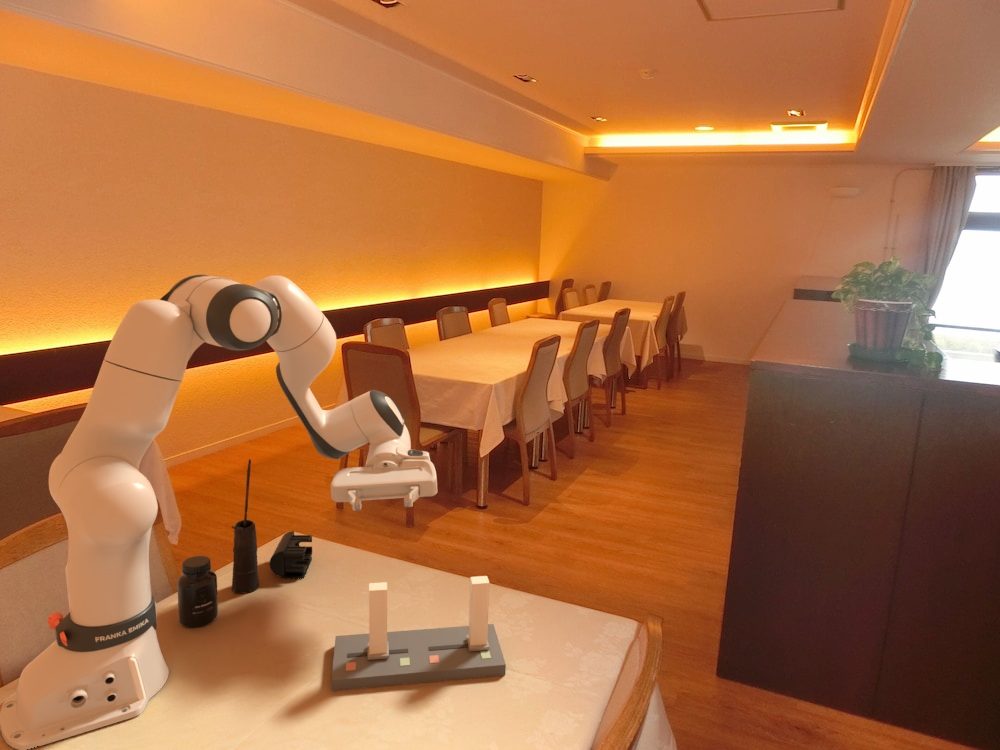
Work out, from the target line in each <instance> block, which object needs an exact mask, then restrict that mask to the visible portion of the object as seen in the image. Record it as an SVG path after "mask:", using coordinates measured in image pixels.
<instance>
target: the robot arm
mask: <svg viewBox="0 0 1000 750" xmlns="http://www.w3.org/2000/svg"><path fill="white" fill-rule="evenodd" d="M265 342H267V344H268V345H269V346H270V347H271V348H272V349H273V351H274V352H275V353H276V356H277V358H278V360H279V361H278V362H277V365H276V367H275V373H276V377H277V378H276V379H277V381H278V384H279V386H280V388H281V390H282V392H283V393H284V395H285V397H286V399H287V400H288V403H289V404H290V405H291V408H292V409H293V410H294V412H295V414H296V415H297V416H298V419H299V420H300V421H301V423H302V425H303V426H304V428H305V430H306V431H307V433H308V436H309V437H310V438H309V439H310V440H311V442H312V444H313V446H314V448H315V449H316V451H317V453H318V454H319V455H321V456H323V457H325V458H329V459H332V460H340V459H341V458H343V457H345V456H346V455H348V454H350V453H352V452H353V451H354V450H356V449H358V448H360V447H362V446H364V445H366V444H368V443H369V446H368V454H367V456H366V461H365V466H356V467H354V466H353V467H345V468H341V469H339V470H338V471H337V472H335V473H334V474H333V479H332V481H331V483H330V494H331V500H333V502H335V503H346V502H348V503H349V504H350V505H351V508H352V511H355V512H356V511H361V510H362V501H363V502H364V501H373V500H374V501H376V500H390V499H393V500H394V499H403V504H404V508H411V507H413V505H414V504H413V503H414V502H416V501H417V500H418V499H419V498H424V497H434V496H436V494H437V493H438V478H437V471H436V468H435V464H434V463H433V462H432V461H431V457H430V452H428V451H425V450H417V449H412V443H411V441H412V440H411V435H410V432H409V430H408V427H407V426H406V424H405V419H404V416H403V413H402V411H401V409H400V407H399V406H398V403H396V401H395V400H394V399H393V398H392V397H391V396H390V395H389V394H386V393H384V392H382V391H381V390H377V389H370V390H369V391H367V392H365V393H362V394H361V395H358V396H355V398H353V399H351V400H348V401H347V402H345V403H343V404H341V405H339V406H336V407H334V408H332V409H328V410H327V409H326V410H325V409H322V408H321V406H320V404H319V402H318V400H317V398H316V397H315V395H314V393H313V392H312V390H311V388H310V387H311V385H312V383H313V382H314V381H315V380H316V379H317V378H318V377H319V375H320V374H322V372H323V371H324V370H326V368H327V367H329V364H330V363H331V361H332V359H333V357H334V355H335V352H336V349H337V343H338V341H337V333H336V331H335V329H334V327H333V326H332V324H331V323H330V321H329V319H328V318H327V317H326V316H325V314H324V313H323V312H322V310H321V309H320V308H319V306H318V305H317V304H316V303H315V302H314V301H313V300H312V298H310V296H308V295H307V293H306V292H304V290H302V289H301V288H300V287H299V286H298V285H297V284H296V283H294V281H292V280H291V279H290V278H288V277H285V276H283V275H269V276H266V277H264V278H262V279H259V280H258V281H257V282H256V283H254V284H253V285H249V284H245V283H240V282H238V281H235V280H233V279H231V278H227V277H224V276H223V277H222V276H215V275H214V276H213V275H208V274H194V275H189V276H187V277H184V278H182V279H181V280H179V281H177V282H176V283H175V284H174V285H173V286H172V287H171V288H170V289H169V291H168V292H166V293H165V294H164V295H163V296H162V297H161V298H159V299H156V298H155V299H142V300H140V301H137V302H135V303H134V304H133V305H131V306H130V307H129V309H128V311H127V312H126V314H125V315H124V317H123V318H122V320H121V322H120V324H119V325H118V327H117V329H116V330H115V332H114V335H113V337H112V339H111V341H110V343H109V346H108V348H107V349H106V352H105V356H104V358H103V361H102V364H101V365H100V366H101V367H100V369H99V372H98V375H97V378H96V380H95V383H94V385H93V389H92V391H91V394H90V397H89V398H88V402H87V404H86V407H85V409H84V411H83V413H82V415H81V417H80V418H79V420H78V423H77V424H76V426H75V428H74V430H73V431H72V433H70V436H69V438H68V439H67V442H66V443H65V445H64V447H63V448H62V451H60V453H59V454H58V455H57V456H56V457H55V458H54V460H53V461H52V462H51V465H50V468H49V471H48V490H49V493H50V495H51V497H52V499H53V501H54V502H55V503H56V505H57V506H58V508H59V510H60V511H61V513H62V515H63V518H64V520H65V522H66V527H67V532H68V534H67V535H68V553H67V562H66V563H67V564H66V565H65V569H64V571H65V572H64V573H65V581H66V589H67V597H68V600H67V601H68V606H69V607H68V608H69V612H68V613H67V614H66V615H65V616H64V615H63V613H61V612H59V611H58V612H54V613H52V614H50V615H49V617H48V618H47V623H48V625H49V628H50V629H51V630H53V631H54V630H55V631H54V632H55V633H54V634H55V640H54V641H53V642H52V643H51V644H50V645H49V646H48V647H46V648H45V649H44V650H43V651H42V652H41V653H40V654H38V655H37V656H36V657H35V658H34V659H32V660H31V661H30V662H29V663H28V664H27V665H26V666H25V667H24V668H23V670H22V671H21V672H20V673H21V674H20V676H19V679H18V681H17V682H18V683H17V686H16V691H15V692H13V693H12V694H10V695H9V696H8V697H7V698H6V700H5V701H4V702H3V704H2V706H1V708H0V733H1V737H2V738H3V740H4V741H5V743H6V744H7V745H8V746H10V747H11V748H13V749H16V750H27V749H28V750H32V749H35V748H38V747H37V746H39V747H41V746H44V745H48V744H51V743H54V742H57V741H61V740H63V739H64V740H65V739H67V738H71V737H74V736H77V735H80V734H84V733H87V732H89V731H93V730H96V729H99V728H103V727H106V726H109V725H113V724H116V723H118V722H119V723H120V722H122V721H126V720H129V719H132V718H135V717H137V716H139V715H140V714H141V713H142V712H143V711H144V709H145V707H146V706H147V704H148V702H149V701H150V699H152V698H153V697H154V696H155V695H157V693H158V692H159V691H160V690H161V689H162V687H164V685H165V684H166V682H167V680H168V679H169V678H168V677H169V675H170V670H169V667H168V665H167V663H166V661H165V658H164V656H163V653H162V651H161V648H160V647H161V646H160V644H159V640H158V635H157V628H158V625H157V623H158V612H157V602H156V600H155V596H153V594H152V589H151V588H152V586H151V577H150V576H151V575H150V574H151V573H150V562H149V561H150V560H149V552H150V550H149V549H150V542H151V535H152V528H153V525H154V523H155V521H156V519H157V515H158V510H159V506H158V505H159V504H158V501H157V496H156V493H155V490H154V488H153V486H152V484H151V482H150V481H149V479H148V478H147V476H145V475H144V474H143V473H142V472H140V470H139V469H140V464H141V461H142V458H143V457H144V455H145V453H146V452H147V450H148V449H149V447H150V446H151V444H152V442H153V441H154V439H155V438H156V437H157V436H158V435H159V434H161V433H162V432H163V431H164V430H165V429H166V427H167V424H168V422H169V419H170V416H171V414H172V411H173V408H174V405H175V402H176V399H177V396H178V393H179V390H180V389H181V385H182V383H183V382H182V381H183V379H184V376H185V373H186V369H187V366H188V362H189V361H190V359H191V357H192V356H193V354H194V352H195V351H196V350H197V349H198V348H200V346H201V345H203V344H204V343H206V344H209V345H211V346H216V347H221V348H225V349H227V350H231V351H248V350H252V349H255V348H257V347H259V346H261V345H263V344H265ZM34 747H35V748H34ZM31 748H32V749H31Z"/></svg>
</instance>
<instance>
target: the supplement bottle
mask: <svg viewBox="0 0 1000 750" xmlns="http://www.w3.org/2000/svg"><path fill="white" fill-rule="evenodd" d="M181 565H182V566H181V567H182V569H181V575H180V576H179V577H178V579H177V584H176V587H177V590H176V591H177V607H178V608H177V609H178V611H177V612H178V620H179V621H178V622H179V624H180V625H181V626H183V627H184V628H187V629H188V628H189V629H197V628H198V629H199V628H202V627H206V626H208V625H210V624H211V623H214V621H216V619H217V617H218V616H219V615H218V614H219V599H218V576H217V574H216V572H215V571H214V570H212V564H211V558H210V557H209V556H206V555H194V556H191V557H188V558H186V559H184V560H183V562H182V564H181Z"/></svg>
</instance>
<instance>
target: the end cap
mask: <svg viewBox="0 0 1000 750" xmlns="http://www.w3.org/2000/svg"><path fill="white" fill-rule="evenodd" d="M312 542H313V535H312V534H304V535H303V534H295V531H293V530H291V531H288V532H286V533H285V534H283V536H282V537H281V538H280V540H279V543H278V544H277V546H276V548H275V550H274V551H273V554H272V555H271V558H270V560H269V569H270V570H271V572H272V573H273V574H274V575H276V576H278V577H279V578H281V579H284V580H302V578H303V579H304V577H306V576H307V573H308V571H309V567H310V566H309V565H311V563H312V559H313V557H312V555H313V546H306V545H305V546H301V545H300V544H301V543H312ZM307 570H308V571H307ZM305 575H306V576H305ZM293 578H294V579H293ZM298 578H299V579H298ZM300 578H301V579H300Z"/></svg>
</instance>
